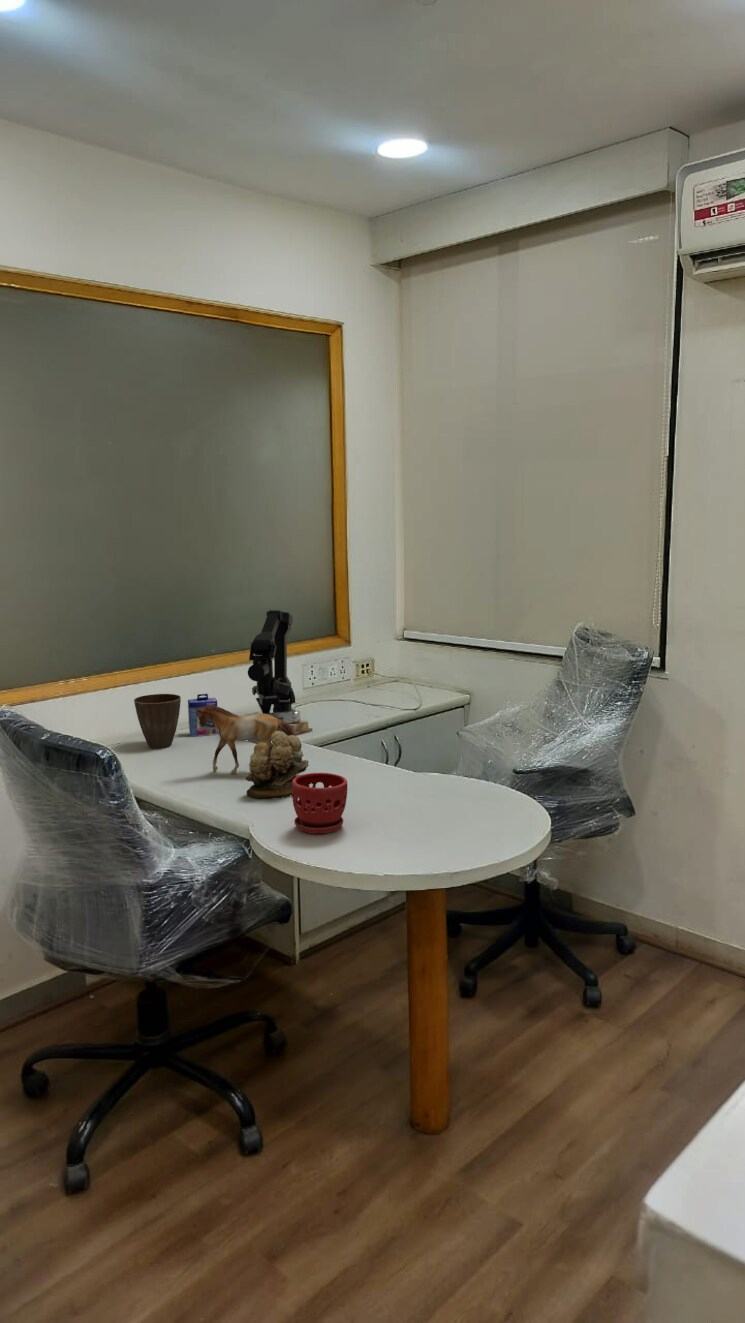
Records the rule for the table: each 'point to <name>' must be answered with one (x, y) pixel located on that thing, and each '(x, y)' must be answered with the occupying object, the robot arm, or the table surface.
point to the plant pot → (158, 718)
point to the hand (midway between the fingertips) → (266, 719)
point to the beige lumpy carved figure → (275, 767)
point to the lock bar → (286, 716)
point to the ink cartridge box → (196, 703)
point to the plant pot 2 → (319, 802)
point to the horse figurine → (239, 728)
